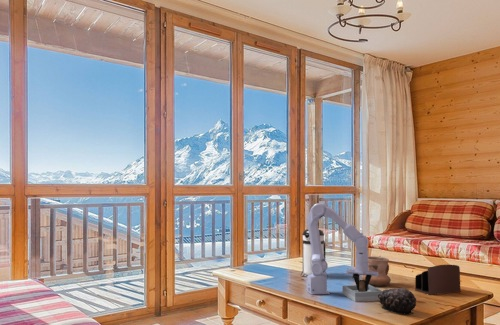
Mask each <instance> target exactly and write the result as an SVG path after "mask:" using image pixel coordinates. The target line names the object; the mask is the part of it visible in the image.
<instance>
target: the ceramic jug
mask: <svg viewBox="0 0 500 325" xmlns="http://www.w3.org/2000/svg"><path fill="white" fill-rule="evenodd" d="M389 270H390V264H389V258H387V257H385V256H384V257H383V256H375V255H374V256H371V255H370V256H369V255H368V271H375V272H378V277H376V276H372V277H371V279H370V282H369V285H371V286H373V287H383V286H387V285H389V284H390V283H391V282H392V280H391V277H390V276H389V275H388V274H389ZM365 277H366V275H362V277H361V278H362V280H365Z"/></svg>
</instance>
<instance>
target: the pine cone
mask: <svg viewBox="0 0 500 325" xmlns="http://www.w3.org/2000/svg"><path fill="white" fill-rule="evenodd" d="M382 291H383V292H382V293H379V294H378V298H379V300H378V301H379V303H380V304H381V309H383V310H385V311H388V312H390V313H391V312H392V313H394V314H398V315H403V316H404V315H414V314H415V313H414V312H413V310H414V309H415V308H416V306H417V298H416V296H415V294H414V293H413V292H412V291H410V290H409V289H407V288H404V287H399V288H396V287H395V288H389V289H384V290H382Z"/></svg>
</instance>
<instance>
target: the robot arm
mask: <svg viewBox="0 0 500 325" xmlns="http://www.w3.org/2000/svg"><path fill="white" fill-rule="evenodd" d="M323 217H325V218H328V219H331V220H332V221H333V222H334V223H335V224H336V225H338V226H339V227H340V228H341V229H342V231H343V232H342V234H344V235H345V236H346V237H347V238H348V239H349V240H350V241H351V242H353V243H354V246H355V269H349V268H348V269H346V275H352V279H353V280H354V283H355V285H356V286H357V291H359V280H360V276H363V275H366V277H365V281H366V288H365V291H368V285H369V282H370V279H371V277H372V276H376V277H378V272H375V271H368V256H369V247H368V245H369V244H370V243H369V242H370V240H369V238H368V237H367V236H366V235H364V233H363V232H360V231H359V230H358V229H357V227H356V225H354V224H351V223H350V224H349V223H347V222H346V220H344V219H343V218H342V217H341V216H340V215H339V213H337V212H336V211H335V210H334V209H333V208H332V207H331V206H329V205H328V204H327V203H325V202H319V203H318V202H317V203H315V204H313V206H312V207H311V208H310V211H309V213H308V216H307V218H306V224H307V229H308V230H309V236H310V243H311V249H312V265H311V271H312V274H311V275H307V276H306V291H307V292H308V293H309V295H330V293H331V292H329V291H328V285H327V284H328V282H327V281H328V276H327V274H328V273H327V271H326V270H327V269H328V263H327V260H326V256H325V257H324V255H323V253H322V247H321V241H320V234H319V221H320V220H321V219H322V218H323Z"/></svg>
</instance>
